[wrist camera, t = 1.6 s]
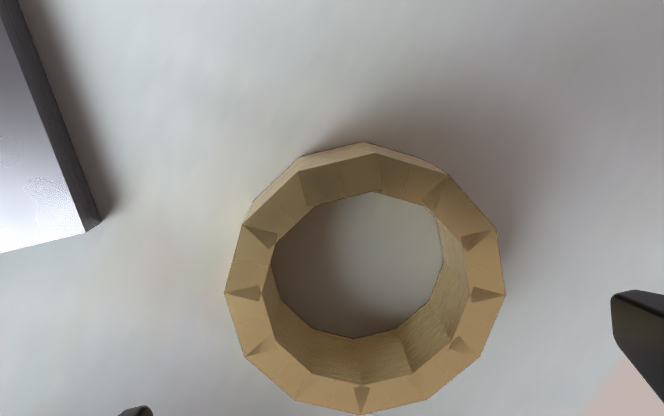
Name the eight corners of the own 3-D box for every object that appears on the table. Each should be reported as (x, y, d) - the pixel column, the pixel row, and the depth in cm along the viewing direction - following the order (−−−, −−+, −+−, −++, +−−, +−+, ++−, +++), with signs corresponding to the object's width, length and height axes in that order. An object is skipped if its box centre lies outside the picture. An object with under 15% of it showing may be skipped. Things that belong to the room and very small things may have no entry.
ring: (485, 333, 15) (518, 378, 13) (275, 382, 15) (270, 436, 13) (450, 120, 13) (480, 127, 11) (213, 177, 13) (192, 196, 11)
